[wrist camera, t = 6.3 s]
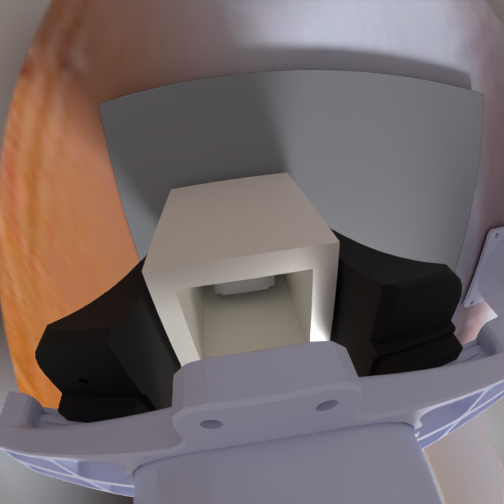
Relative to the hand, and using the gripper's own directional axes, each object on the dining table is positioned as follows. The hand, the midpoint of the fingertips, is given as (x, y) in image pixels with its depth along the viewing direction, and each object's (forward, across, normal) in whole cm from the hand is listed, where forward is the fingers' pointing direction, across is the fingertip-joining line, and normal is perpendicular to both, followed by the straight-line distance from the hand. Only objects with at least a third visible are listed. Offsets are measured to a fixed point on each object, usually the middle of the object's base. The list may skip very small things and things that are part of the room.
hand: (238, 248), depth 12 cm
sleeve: (+1, 0, 0) cm, 1 cm away
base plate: (+3, -5, 0) cm, 6 cm away
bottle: (+3, -21, +26) cm, 34 cm away
